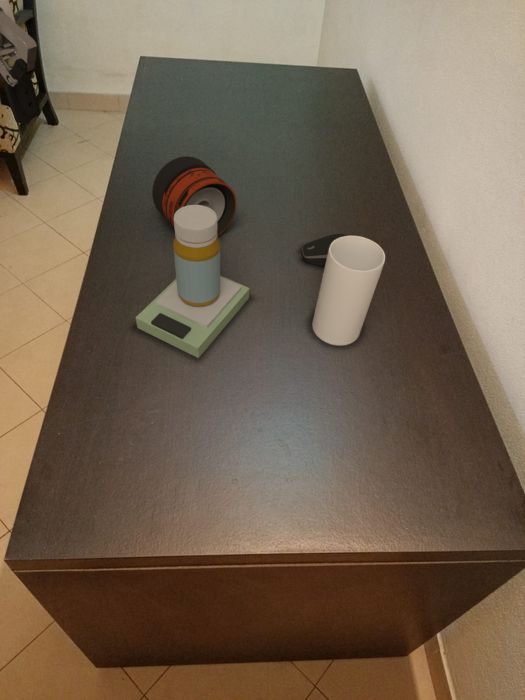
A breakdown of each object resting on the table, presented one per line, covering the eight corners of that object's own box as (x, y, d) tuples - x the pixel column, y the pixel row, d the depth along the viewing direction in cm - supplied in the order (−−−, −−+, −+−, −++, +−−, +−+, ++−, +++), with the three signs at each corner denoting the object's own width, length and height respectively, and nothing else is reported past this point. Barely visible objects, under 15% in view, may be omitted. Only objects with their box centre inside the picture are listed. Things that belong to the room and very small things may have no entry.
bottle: (174, 306, 76) (166, 229, 64) (181, 277, 80) (175, 200, 69) (217, 310, 76) (217, 234, 64) (222, 281, 80) (222, 205, 69)
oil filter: (180, 253, 89) (174, 192, 80) (150, 220, 95) (141, 159, 85) (236, 232, 95) (238, 172, 85) (205, 202, 101) (203, 143, 91)
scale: (198, 358, 74) (197, 345, 71) (137, 328, 77) (134, 314, 74) (249, 298, 83) (250, 284, 80) (192, 273, 86) (191, 259, 84)
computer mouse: (300, 244, 94) (302, 227, 91) (360, 246, 95) (365, 230, 92) (303, 267, 89) (306, 250, 86) (366, 269, 90) (371, 253, 87)
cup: (354, 351, 77) (380, 278, 64) (306, 337, 78) (322, 262, 66) (364, 317, 82) (389, 243, 70) (318, 304, 83) (336, 229, 71)
